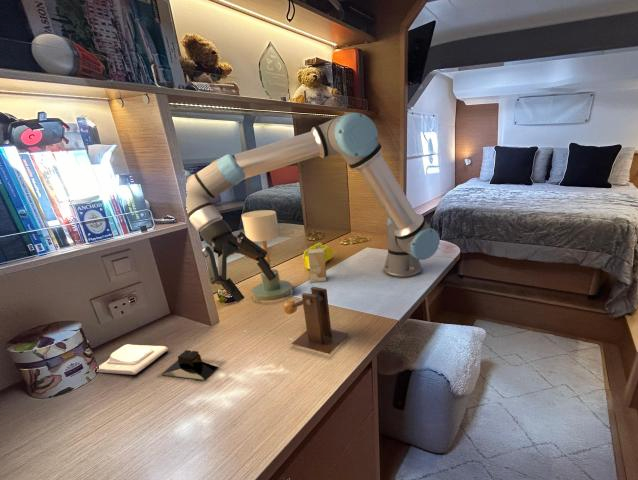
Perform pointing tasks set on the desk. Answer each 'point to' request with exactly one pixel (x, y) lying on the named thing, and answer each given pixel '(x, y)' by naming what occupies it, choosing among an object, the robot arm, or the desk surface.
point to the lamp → (264, 229)
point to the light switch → (131, 359)
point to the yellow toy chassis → (318, 246)
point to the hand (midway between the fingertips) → (258, 289)
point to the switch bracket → (318, 324)
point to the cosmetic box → (317, 265)
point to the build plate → (190, 367)
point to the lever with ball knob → (297, 304)
